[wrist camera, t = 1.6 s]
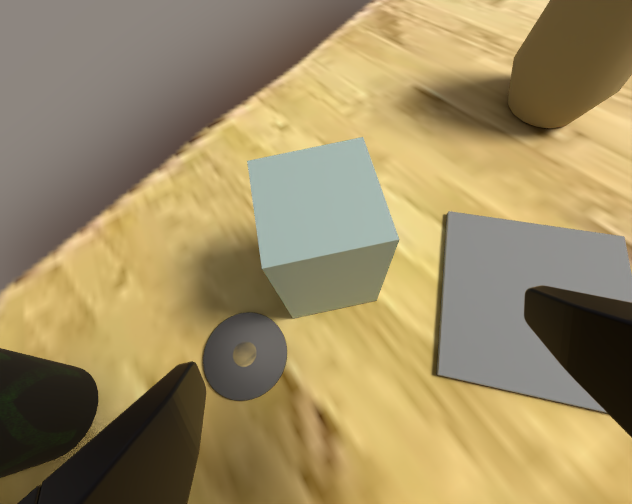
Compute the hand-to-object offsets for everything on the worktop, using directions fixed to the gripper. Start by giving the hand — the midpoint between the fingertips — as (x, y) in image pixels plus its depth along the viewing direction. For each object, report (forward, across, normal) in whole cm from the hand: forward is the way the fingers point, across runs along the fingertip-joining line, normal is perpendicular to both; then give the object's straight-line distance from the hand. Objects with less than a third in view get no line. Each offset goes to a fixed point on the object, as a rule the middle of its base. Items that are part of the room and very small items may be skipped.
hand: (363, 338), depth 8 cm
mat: (+10, -13, +8) cm, 19 cm away
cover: (+14, 0, +4) cm, 15 cm away
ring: (+11, +7, +8) cm, 15 cm away
